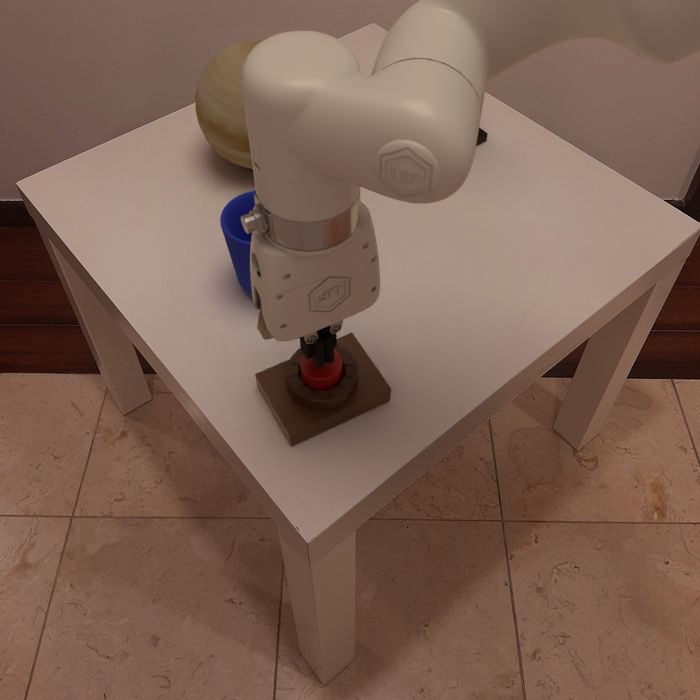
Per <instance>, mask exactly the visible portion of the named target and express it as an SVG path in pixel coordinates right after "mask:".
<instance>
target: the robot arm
mask: <svg viewBox="0 0 700 700" xmlns="http://www.w3.org/2000/svg"><path fill="white" fill-rule="evenodd" d="M581 39H582V40H583V39H597V40H600V39H601V40H606V41H608V42H612V43H615V44H618V45H620V46H621V47H624V48H626V49H628V50H629V51H631V52H633V53H634V54H635V55H637V56H638V57H639V58H641V59H642V60H645V61H646V62H649V63H651V64H657V65H669V64H673V63H677V62H679V61H682V60H684V59H686V58H688V57H690V56H692V55H694V54H696V53H697V52H700V0H418V1H415V3H414V4H412V5H411V6H410V7H409V8H408V9H407V10H406V11H404V13H403V14H401V16H400V17H398V19H397V20H396V21H395V22H394V24H393V25H392V26H391V28H390V29H389V30H388V32H387V34H386V35H385V37H384V39H383V41H382V43H381V46H380V48H379V51H378V53H377V56H376V59H375V61H374V64H373V66H372V70H371V74H370V75H369V76H366V75H363V73H362V72H361V68H360V64H359V62H358V59H357V56H356V55H355V54H354V52H353V51H352V49H351V48H350V47H349V46H348V44H346V43H345V42H343V41H342V40H340V39H338V38H337V37H334V36H332V35H330V34H327V33H324V32H320V31H315V30H291V31H285V32H280V33H277V34H275V35H271V36H269V37H267V38H265V39H263V40H261V41H262V42H261V43H259V44H258V45H257V46H255V47H254V48H253V49H252V50H251V52H250V53H249V54H248V56H247V58H246V60H245V62H244V65H243V69H242V76H241V81H242V93H243V100H244V107H245V115H246V122H247V129H248V136H249V144H250V151H251V158H252V165H253V169H252V172H253V179H254V187H255V190H256V194H254V200H255V206H254V209H253V210H251V211H250V212H249V214H246V215H243V216H241V222H242V225H243V228H244V230H245V231H246V233H247V234H249V233H251V232H252V238H251V248H250V276H251V289H252V296H251V297H252V301H253V304H254V307H255V309H256V310H258V311H259V313H258V319H257V325H256V329H257V331H258V332H259V334H260V336H261V338H262V339H263V340H264V341H265V340H270V339H271V340H272V339H274V340H275V341H277V342H290V341H294V340H297V339H299V348H301V350H302V352H303V354H304V356H305V357H306V358H307V359H309V358H312V359H313V361H314V362H315V364H316V365H317V367H318V368H321V367H323V366H324V364H325V362H326V363H329V364H330V363H332V362H334V348H335V347H337V339H338V337H337V333H339V332H340V331H341V330H342V328H343V323H344V320H346V319H349V318H350V317H353V316H356V315H358V314H360V313H362V312H364V311H366V310H368V309H369V308H371V307H372V306H374V304H375V303H376V302H377V301H378V300H379V297H380V293H381V267H380V257H379V256H380V255H379V249H378V242H377V237H376V231H375V226H374V222H373V219H372V216H371V211H370V210H369V208H368V206H367V205H365V204H364V202H362V200H361V188H362V189H366V190H367V191H370V192H373V193H375V194H378V195H381V196H383V197H386V198H389V199H393V200H396V201H399V202H403V203H409V204H419V205H420V204H422V205H423V204H433V203H438V202H441V201H444V200H447V199H448V198H450V197H451V196H453V195H454V194H456V193H457V192H458V191H459V190H460V189H461V188H462V187H463V185H464V184H465V182H466V181H467V179H468V177H469V175H470V173H471V170H472V167H473V163H474V158H475V155H476V149H477V146H476V143H477V137H478V131H479V127H480V124H481V119H482V111H483V106H484V100H485V94H486V88H487V84H489V83H491V82H492V81H493V80H495V79H497V78H498V77H499V76H501V75H502V74H503V75H504V73H506V72H507V71H510V70H511V69H513V68H514V67H516V66H518V65H519V64H521V63H523V62H525V61H526V60H528V59H530V58H531V57H533V56H535V55H537V54H539V53H542V52H543V51H545V50H549V49H550V48H552V47H555V46H557V45H560V44H561V45H562V44H564V43H567V42H570V41H577V40H581Z"/></svg>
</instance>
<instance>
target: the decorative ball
mask: <svg viewBox="0 0 700 700" xmlns="http://www.w3.org/2000/svg"><path fill="white" fill-rule="evenodd" d="M262 41H263V40H257V39H256V40H255V39H252V40H242V41H239V42H236V43H233V44H231V45H229V46H226V47H224V48H223V49H221V50H220V51H219V52H218V53H216V54H215V55H214V56H213V57H212V58H211V59H210V60H209V61H208V63H207V64H206V66H205V67H204V68H203V70H202V72H201V75H200V77H199V79H198V83H197V86H196V90H195V96H194V97H195V98H194V99H195V100H194V101H195V114H196V119H197V122H198V125H199V129H200V131H201V133H202V135H203V136H204V138H205V141H207V142H208V144H209V145H210V147H212V148H213V150H214V151H215V152H216V153H217V154H218V155H219V156H221V157H223V158H224V159H226V160H227V161H228V162H231V163H232V164H235V165H237V166H239V167H243V168H246V169H250V170H251V169H252V170H253V165H252V158H251V151H250V144H249V136H248V129H247V122H246V115H245V107H244V100H243V93H242V81H241V76H242V69H243V65H244V62H245V60H246V58H247V56H248V54H249V53H250V52H251V50H252V49H253V48H254V47H255V46H257V45H258V44H259V43H261V42H262Z"/></svg>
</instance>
